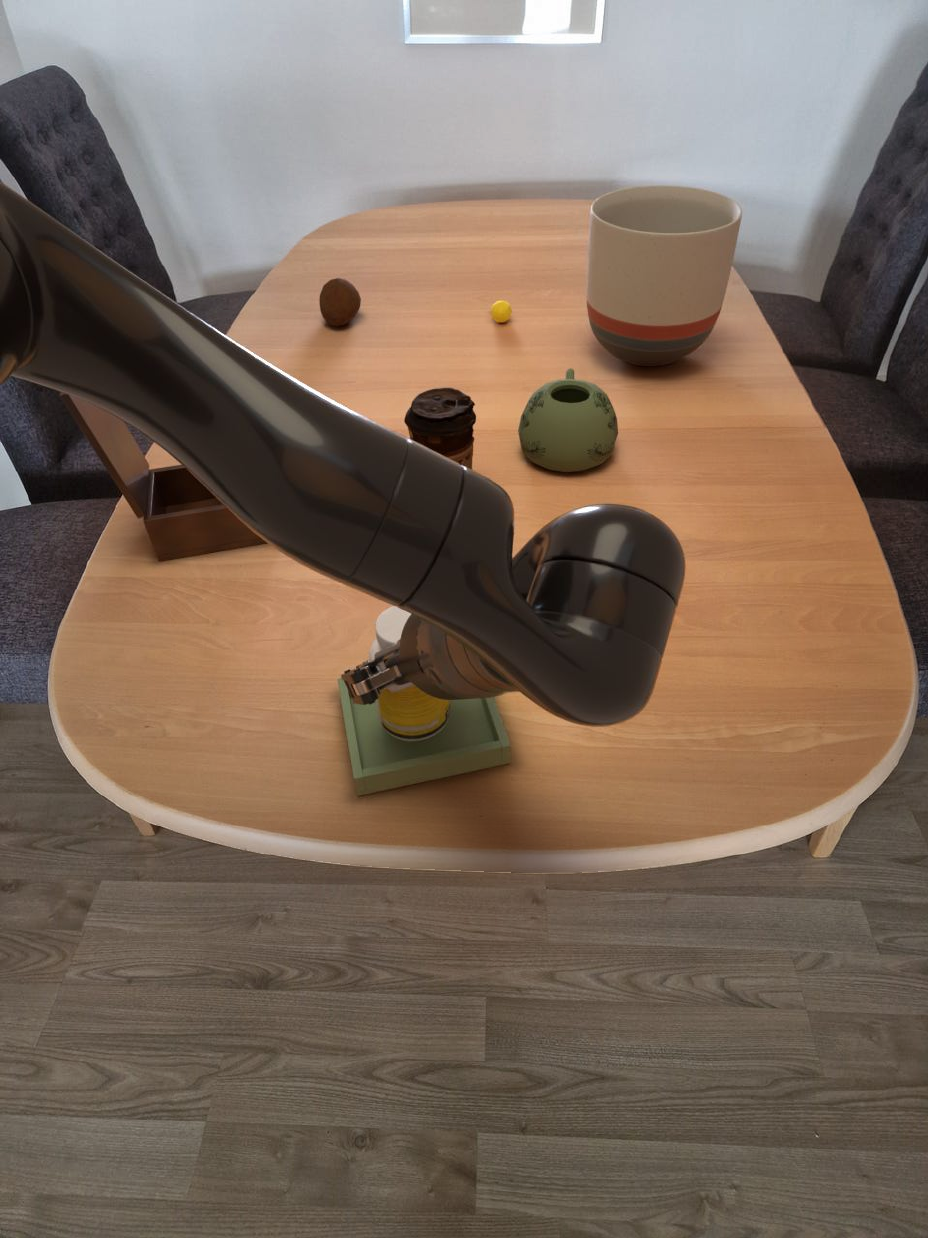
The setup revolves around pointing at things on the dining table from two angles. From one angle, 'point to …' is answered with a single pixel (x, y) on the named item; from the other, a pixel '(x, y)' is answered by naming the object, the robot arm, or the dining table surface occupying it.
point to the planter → (658, 269)
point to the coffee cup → (443, 423)
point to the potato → (339, 301)
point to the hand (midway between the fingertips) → (399, 659)
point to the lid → (113, 450)
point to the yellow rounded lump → (501, 311)
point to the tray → (422, 745)
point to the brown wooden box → (189, 517)
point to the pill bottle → (405, 690)
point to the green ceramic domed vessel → (568, 425)
